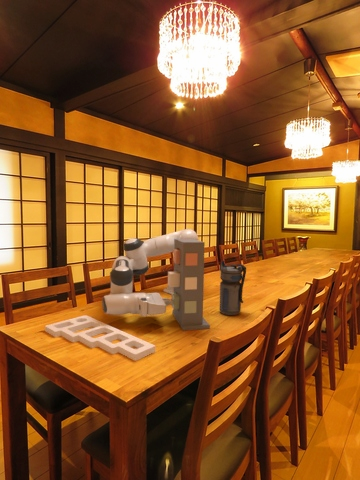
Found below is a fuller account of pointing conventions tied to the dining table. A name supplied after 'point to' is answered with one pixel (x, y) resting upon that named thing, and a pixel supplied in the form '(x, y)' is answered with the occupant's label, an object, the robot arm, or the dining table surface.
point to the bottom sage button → (175, 301)
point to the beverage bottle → (231, 288)
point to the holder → (101, 337)
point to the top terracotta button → (176, 256)
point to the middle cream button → (174, 279)
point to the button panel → (190, 284)
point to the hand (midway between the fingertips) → (172, 301)
